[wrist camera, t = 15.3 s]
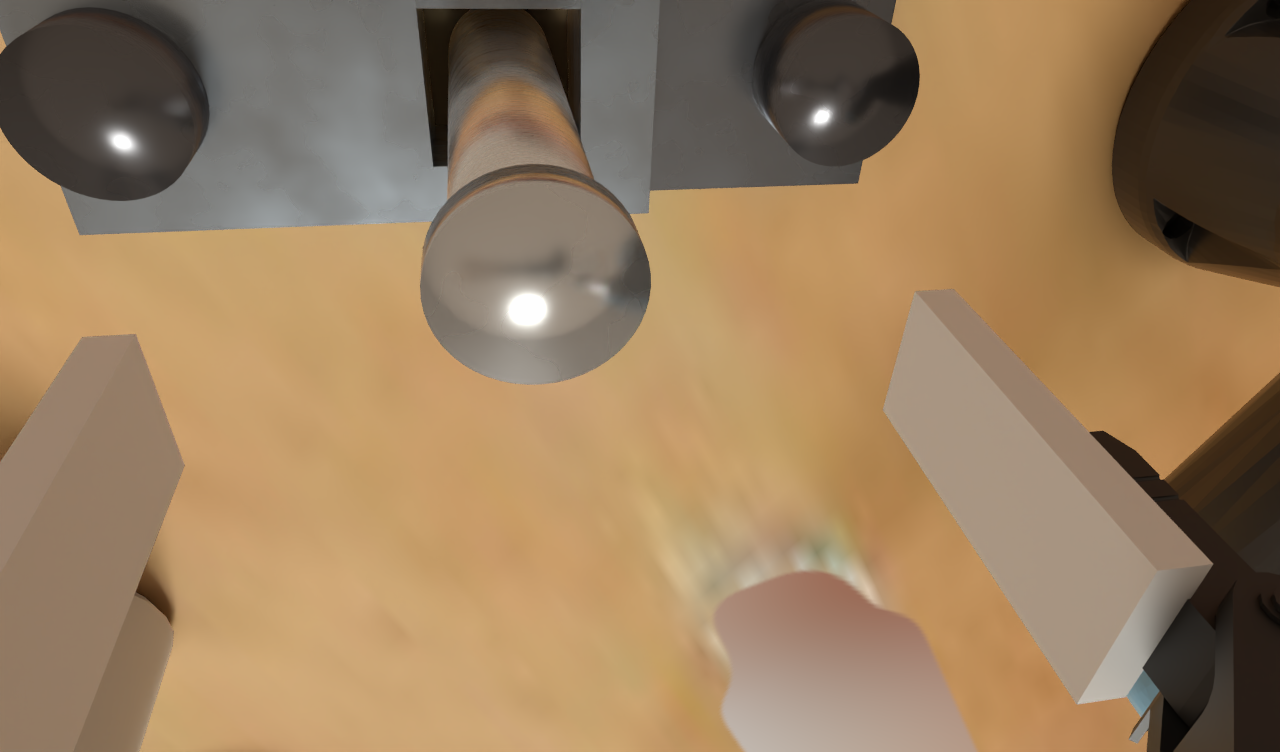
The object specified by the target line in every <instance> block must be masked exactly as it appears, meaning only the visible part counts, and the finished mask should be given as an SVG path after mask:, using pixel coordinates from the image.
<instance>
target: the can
mask: <svg viewBox="0 0 1280 752" xmlns="http://www.w3.org/2000/svg"><path fill="white" fill-rule="evenodd" d="M173 634H174V631H173V629H172V627H171V625H170V623H169V621H168V619H167V617H166V616H165V615H164V614H163V613H161V612H160V611H159V610H158V609H157V608H156V607H155V606H154V605H153V604H152V603H151V602H150V601H149V600H148V599H146V598H145V597H144V596H142V595H140V594H138V593H136V592H135V595H134V597H133V600H132V602H131V605H130V607H129V610H128V613H127V615H126V618H125V620H124V623H123V625H122V628H121V630H120V633H119V636H118V638H117V641H116V643H115V646H114V648H113V651H112V654H111V656H110V659H109V661H108V664H107V666H106V669H105V672H104V674H103V677H102V679H101V682H100V684H99V687H98V690H97V692H96V695H95V697H94V700H93V702H92V705H91V708H90V710H89V713H88V715H87V718H86V720H85V723H84V726H83V728H82V731H81V733H80V736H79V738H78V741H77V744H76V746H75V749H74V751H73V752H139V751H140V748H141V745H142V742H143V739H144V735H145V732H146V729H147V726H148V723H149V720H150V716H151V713H152V710H153V707H154V704H155V701H156V697H157V694H158V691H159V688H160V685H161V682H162V678H163V675H164V672H165V669H166V666H167V662H168V659H169V656H170V653H171V650H172V647H173Z"/></svg>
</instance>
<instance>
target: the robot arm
mask: <svg viewBox="0 0 1280 752" xmlns="http://www.w3.org/2000/svg"><path fill="white" fill-rule="evenodd" d="M1112 176H1113V186H1114V191H1115V195H1116V199H1117V202H1118V205H1119V207H1120V209H1121V212H1122V213H1123V215H1124V217H1125V219H1126V220H1127V221H1128V223H1129V224H1130V225H1131V226H1132V228H1133V229H1134V230H1135V231H1136V232H1137V233H1139V234H1140V235H1141V236H1142V237H1144V238H1145V239H1147V240H1148V241H1149V242H1151V243H1152V244H1154V245H1155V246H1157V247H1158V248H1160V249H1161V250H1163V251H1164V252H1166V253H1167V254H1169V255H1170V256H1172V257H1173V258H1175V259H1177V260H1179V261H1181V262H1183V263H1185V264H1187V265H1190V266H1193V267H1195V268H1198V269H1202V270H1206V271H1211V272H1215V273H1220V274H1224V275H1228V276H1233V277H1237V278H1241V279H1246V280H1250V281H1255V282H1259V283H1263V284H1268V285H1272V286H1276V287H1280V0H1191V1H1190V2H1189V3H1188V4H1187V5H1186V6H1185V8H1184V9H1183V10H1182V11H1181V12H1180V14H1179V15H1178V16H1177V17H1176V18H1175V20H1174V21H1173V22H1172V23H1171V25H1170V26H1169V27H1168V29H1167V30H1166V31H1165V33H1164V34H1163V35H1162V37H1161V38H1160V40H1159V41H1158V43H1157V44H1156V45H1155V47H1154V48H1153V50H1152V52H1151V53H1150V55H1149V56H1148V58H1147V60H1146V61H1145V63H1144V65H1143V67H1142V69H1141V70H1140V72H1139V74H1138V76H1137V78H1136V80H1135V82H1134V84H1133V86H1132V88H1131V91H1130V93H1129V95H1128V98H1127V100H1126V103H1125V105H1124V108H1123V111H1122V114H1121V117H1120V121H1119V124H1118V128H1117V132H1116V137H1115V142H1114V149H1113V159H1112ZM883 411H884V412H885V414H886V415H887V417H888V418H889V420H890V422H891V423H892V425H893V426H894V428H895V429H896V431H897V432H898V434H899V435H900V437H901V438H902V440H903V441H904V443H905V444H906V446H907V447H908V449H909V450H910V452H911V453H912V455H913V456H914V458H915V459H916V461H917V463H918V464H919V466H920V467H921V469H922V470H923V472H924V473H925V475H926V476H927V478H928V479H929V481H930V482H931V484H932V485H933V487H934V488H935V490H936V491H937V493H938V494H939V496H940V497H941V499H942V500H943V502H944V504H945V505H946V507H947V508H948V510H949V511H950V513H951V514H952V516H953V517H954V519H955V520H956V522H957V523H958V525H959V526H960V528H961V529H962V531H963V532H964V534H965V535H966V537H967V538H968V540H969V542H970V543H971V545H972V546H973V548H974V549H975V551H976V552H977V554H978V555H979V557H980V558H981V560H982V561H983V563H984V564H985V566H986V567H987V569H988V570H989V572H990V573H991V575H992V576H993V578H994V579H995V581H996V583H997V584H998V586H999V587H1000V589H1001V590H1002V592H1003V593H1004V595H1005V596H1006V598H1007V599H1008V601H1009V602H1010V604H1011V605H1012V607H1013V608H1014V610H1015V611H1016V613H1017V614H1018V616H1019V617H1020V619H1021V620H1022V622H1023V624H1024V625H1025V627H1026V628H1027V630H1028V631H1029V633H1030V634H1031V636H1032V637H1033V639H1034V640H1035V642H1036V643H1037V645H1038V646H1039V648H1040V649H1041V651H1042V652H1043V654H1044V655H1045V657H1046V658H1047V660H1048V661H1049V663H1050V665H1051V666H1052V668H1053V669H1054V671H1055V672H1056V674H1057V675H1058V677H1059V678H1060V680H1061V681H1062V683H1063V684H1064V686H1065V687H1066V689H1067V690H1068V692H1069V693H1070V695H1071V696H1072V698H1073V699H1074V701H1075V703H1076V704H1083V703H1090V702H1096V701H1103V700H1110V699H1117V698H1123V697H1126V696H1127V698H1128V699H1129V701H1130V702H1131V704H1132V705H1133V707H1134V708H1135V709H1136V711H1137V712H1138V714H1139V715H1140V716H1141V718H1140V720H1139V721H1138V723H1137V724H1136V725H1135V727H1134V728H1133V731H1132V733H1131V735H1130V738H1129V740H1131V741H1133V742H1135V743H1138V742H1139V740H1140V739H1141V738H1142V736H1143V735H1144V733H1145V732H1146V731H1148V730H1149V731H1148V742H1147V752H1280V373H1279V374H1278V375H1277V376H1276V377H1275V378H1274V379H1272V380H1271V381H1270V382H1269V383H1268V384H1267V385H1266V386H1265V387H1264V388H1263V389H1262V390H1261V391H1259V392H1258V393H1257V394H1256V395H1255V396H1254V397H1253V398H1252V399H1251V400H1250V401H1249V402H1248V403H1246V404H1245V405H1244V406H1243V407H1242V408H1241V409H1240V410H1239V411H1238V412H1237V413H1236V414H1235V415H1233V416H1232V417H1231V418H1230V419H1229V420H1228V421H1227V422H1226V423H1225V424H1224V425H1223V426H1222V427H1220V428H1219V429H1218V430H1217V431H1216V432H1215V433H1214V434H1213V435H1212V436H1211V437H1210V438H1209V439H1207V440H1206V441H1205V442H1204V443H1203V444H1202V445H1201V446H1200V447H1199V448H1198V449H1197V450H1196V451H1194V452H1193V453H1192V454H1191V455H1190V456H1189V457H1188V458H1187V459H1186V460H1185V461H1184V462H1183V463H1181V464H1180V465H1179V466H1178V467H1177V468H1176V469H1175V470H1174V471H1173V472H1172V473H1171V474H1170V475H1168V476H1167V477H1166V478H1165V479H1164V480H1160V479H1159V474H1158V473H1157V472H1156V471H1155V470H1154V469H1153V468H1152V467H1151V466H1150V465H1149V464H1148V463H1147V462H1146V461H1145V460H1144V459H1143V458H1142V457H1141V456H1140V455H1139V454H1138V453H1137V452H1136V451H1135V450H1133V449H1132V448H1130V447H1129V446H1127V445H1125V444H1124V443H1122V442H1121V441H1119V440H1117V439H1116V438H1114V437H1113V436H1111V435H1109V434H1108V433H1106V432H1104V431H1096V432H1088V431H1087V430H1086V429H1085V428H1084V426H1083V425H1082V424H1081V423H1080V422H1079V421H1078V420H1077V419H1076V418H1075V417H1074V416H1073V415H1072V414H1071V413H1070V412H1069V411H1068V410H1067V408H1066V407H1065V406H1064V405H1063V404H1062V403H1061V402H1060V401H1059V400H1058V399H1057V398H1056V397H1055V396H1054V395H1053V394H1052V393H1051V392H1050V390H1049V389H1048V388H1047V387H1046V386H1045V385H1044V384H1043V383H1042V382H1041V381H1040V380H1039V379H1038V378H1037V377H1036V376H1035V375H1034V374H1033V372H1032V371H1031V370H1030V369H1029V368H1028V367H1027V366H1026V365H1025V364H1024V363H1023V362H1022V361H1021V360H1020V359H1019V358H1018V357H1017V356H1016V355H1015V353H1014V352H1013V351H1012V350H1011V349H1010V348H1009V347H1008V346H1007V345H1006V344H1005V343H1004V342H1003V341H1002V340H1001V339H1000V338H999V337H998V335H997V334H996V333H995V332H994V331H993V330H992V329H991V328H990V327H989V326H988V325H987V324H986V323H985V322H984V321H983V320H982V319H981V317H980V316H979V315H978V314H977V313H976V312H975V311H974V310H973V309H972V308H971V307H970V306H969V305H968V304H967V303H966V302H965V301H964V299H963V298H962V297H961V296H960V295H959V294H958V293H957V292H956V291H955V290H954V289H947V290H929V291H915V293H914V297H913V301H912V304H911V308H910V312H909V315H908V319H907V323H906V326H905V330H904V334H903V338H902V341H901V345H900V349H899V352H898V356H897V360H896V363H895V367H894V371H893V374H892V378H891V382H890V385H889V389H888V393H887V396H886V400H885V404H884V407H883ZM184 466H185V465H184V462H183V460H182V457H181V454H180V452H179V449H178V446H177V444H176V441H175V438H174V436H173V433H172V430H171V428H170V425H169V422H168V419H167V417H166V414H165V411H164V409H163V406H162V403H161V401H160V398H159V395H158V393H157V390H156V387H155V385H154V382H153V379H152V376H151V374H150V371H149V368H148V366H147V363H146V360H145V358H144V355H143V352H142V350H141V347H140V344H139V342H138V339H137V336H136V334H128V335H110V336H92V337H82V338H81V340H80V341H79V343H78V344H77V346H76V347H75V349H74V350H73V352H72V353H71V355H70V356H69V358H68V359H67V361H66V362H65V364H64V365H63V367H62V369H61V370H60V372H59V373H58V375H57V376H56V378H55V379H54V381H53V382H52V384H51V385H50V387H49V388H48V390H47V391H46V393H45V394H44V396H43V398H42V399H41V401H40V402H39V404H38V405H37V407H36V408H35V410H34V411H33V413H32V414H31V416H30V417H29V419H28V420H27V422H26V423H25V425H24V427H23V428H22V430H21V431H20V433H19V434H18V436H17V437H16V439H15V440H14V442H13V443H12V445H11V446H10V448H9V449H8V451H7V452H6V454H5V456H4V457H3V459H2V460H1V462H0V752H73V751H74V749H75V746H76V744H77V741H78V738H79V736H80V733H81V731H82V728H83V726H84V723H85V720H86V718H87V715H88V713H89V710H90V708H91V705H92V702H93V700H94V697H95V695H96V692H97V690H98V687H99V684H100V682H101V679H102V677H103V674H104V672H105V669H106V666H107V664H108V661H109V659H110V656H111V654H112V651H113V648H114V646H115V643H116V641H117V638H118V636H119V633H120V630H121V628H122V625H123V623H124V620H125V618H126V615H127V613H128V610H129V607H130V605H131V602H132V600H133V597H134V595H135V592H136V589H137V587H138V584H139V582H140V579H141V577H142V574H143V571H144V569H145V566H146V564H147V561H148V559H149V556H150V553H151V551H152V548H153V546H154V543H155V541H156V538H157V535H158V533H159V530H160V528H161V525H162V523H163V520H164V517H165V515H166V512H167V510H168V507H169V505H170V502H171V499H172V497H173V494H174V492H175V489H176V487H177V484H178V481H179V479H180V476H181V474H182V471H183V469H184Z"/></svg>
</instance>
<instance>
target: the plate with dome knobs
mask: <svg viewBox="0 0 1280 752" xmlns="http://www.w3.org/2000/svg"><path fill="white" fill-rule="evenodd" d="M895 3H896V0H0V31H1V34H2V36H3V39H4V41H5V44H6V48H5V49H4V50H3V51H2V53H1V54H0V127H1V129H2V132H3V133H4V135H5V136H6V138H7V139H8V141H9V142H10V144H11V145H12V146H13V147H14V149H15V150H16V151H17V152H18V154H19V155H20V156H21V157H22V158H23V159H24V160H25V161H26V162H27V163H28V164H30V165H31V166H32V167H33V168H34V169H36V170H37V171H38V172H39V173H41V174H42V175H44V176H45V177H47V178H48V179H50V180H51V181H53V182H55V183H57V184H58V185H60V186H61V188H62V191H63V193H64V196H65V198H66V201H67V204H68V206H69V209H70V211H71V214H72V216H73V219H74V222H75V224H76V227H77V229H78V232H79V234H80V235H94V234H120V233H146V232H172V231H198V230H224V229H249V228H275V227H301V226H327V225H353V224H379V223H405V222H431V221H433V220H434V218H435V216H436V215H437V213H438V211H439V210H440V209H441V208H442V206H443V205H444V204H445V203H446V202H447V180H448V125H439V126H435V121H434V111H433V101H432V92H431V82H430V72H429V62H428V53H427V43H426V33H425V24H424V14H423V8H427V9H567V61H568V104H569V107H570V110H571V113H572V115H573V118H574V121H575V124H576V127H577V130H578V133H579V136H580V139H581V142H582V145H583V148H584V151H585V154H586V156H587V159H588V162H589V165H590V168H591V171H592V174H593V177H594V180H595V181H597V182H598V183H600V184H602V185H603V186H604V187H605V188H607V189H608V190H609V191H610V192H612V193H613V194H614V195H615V196H616V197H617V199H618V200H619V201H620V202H621V203H622V204H623V206H624V207H625V208H626V210H627V211H628V213H629V214H638V213H649V194H650V190H677V189H706V188H736V187H765V186H795V185H825V184H854V183H858V180H859V175H860V171H861V166H862V161H863V160H864V159H866V158H868V157H870V156H872V155H874V154H875V153H877V152H878V151H880V150H881V149H882V148H884V147H885V146H886V145H887V144H888V143H889V142H890V141H891V140H892V139H893V138H894V137H895V136H896V135H897V134H898V133H899V131H900V130H901V129H902V127H903V126H904V124H905V123H906V121H907V119H908V118H909V116H910V114H911V112H912V109H913V107H914V104H915V101H916V98H917V94H918V88H919V78H920V74H919V64H918V60H917V56H916V53H915V51H914V48H913V46H912V45H911V43H910V41H909V40H908V39H907V37H906V36H905V35H904V34H903V33H902V32H901V31H900V30H899V29H898V28H896V27H895V26H893V25H891V22H892V17H893V13H894V8H895Z"/></svg>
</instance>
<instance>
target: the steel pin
mask: <svg viewBox="0 0 1280 752" xmlns="http://www.w3.org/2000/svg"><path fill="white" fill-rule="evenodd" d="M650 288H651V273H650V267H649V261H648V258H647V255H646V252H645V249H644V246H643V244H642V241H641V239H640V236H639V234H638V231H637V229H636V226H635V224H634V222H633V220H632V218H631V216H630V214H629V213H628V211H627V210H626V208H625V207H624V206H623V204H622V203H621V202H620V201H619V200H618V199H617V197H616V196H615V195H614V194H613V193H612V192H610V191H609V190H608V189H607V188H605V187H604V186H603V185H602V184H600V183H598V182H597V181H595V180H594V177H593V174H592V171H591V168H590V165H589V162H588V159H587V156H586V154H585V151H584V148H583V145H582V142H581V139H580V136H579V133H578V130H577V127H576V124H575V121H574V118H573V115H572V113H571V110H570V107H569V104H568V101H567V98H566V95H565V92H564V89H563V86H562V83H561V80H560V77H559V75H558V72H557V69H556V66H555V63H554V60H553V57H552V54H551V51H550V48H549V45H548V42H547V39H546V37H545V34H544V32H543V30H542V28H541V27H540V25H539V24H538V22H537V21H536V20H535V19H534V18H533V17H532V16H531V15H530V14H529V13H527V12H526V11H525V10H523V9H470V10H469V11H468V12H466V13H465V14H464V15H463V16H462V17H461V18H460V19H459V21H458V22H457V23H456V25H455V27H454V29H453V31H452V34H451V37H450V41H449V51H448V180H447V202H446V203H445V204H444V205H443V206H442V208H441V209H440V210H439V211H438V213H437V215H436V216H435V218H434V220H433V221H432V223H431V225H430V228H429V230H428V232H427V235H426V238H425V242H424V246H423V253H422V264H421V281H420V290H421V302H422V306H423V311H424V314H425V317H426V320H427V322H428V325H429V326H430V328H431V330H432V332H433V334H434V336H435V337H436V338H437V340H438V341H439V342H440V344H441V345H442V346H443V347H444V348H445V349H446V350H447V351H448V352H449V353H450V354H451V355H452V356H453V357H454V358H455V359H457V360H458V361H459V362H461V363H462V364H463V365H465V366H467V367H468V368H470V369H472V370H473V371H475V372H478V373H480V374H482V375H484V376H487V377H490V378H493V379H496V380H499V381H504V382H509V383H515V384H527V385H529V384H547V383H555V382H560V381H564V380H568V379H571V378H574V377H577V376H580V375H583V374H585V373H587V372H589V371H591V370H593V369H595V368H597V367H598V366H600V365H602V364H603V363H605V362H606V361H608V360H609V359H610V358H611V357H613V356H614V355H615V354H617V353H618V352H619V351H620V350H621V349H622V348H623V347H624V346H625V345H626V343H627V342H628V341H629V340H630V338H631V337H632V336H633V335H634V333H635V331H636V330H637V328H638V326H639V325H640V323H641V321H642V319H643V316H644V314H645V312H646V308H647V305H648V301H649V296H650Z"/></svg>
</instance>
